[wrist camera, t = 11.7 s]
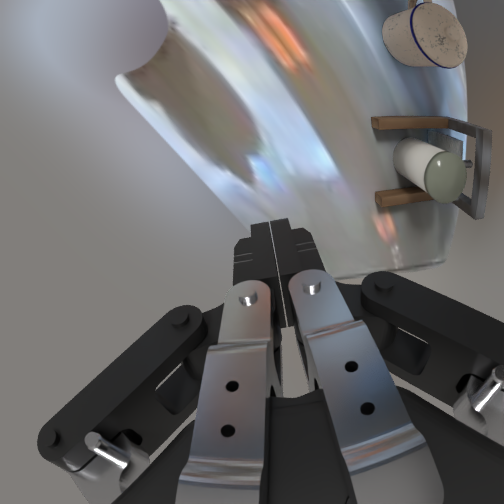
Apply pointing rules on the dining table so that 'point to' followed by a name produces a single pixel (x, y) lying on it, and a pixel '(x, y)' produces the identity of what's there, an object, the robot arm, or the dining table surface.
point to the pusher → (448, 145)
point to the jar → (431, 169)
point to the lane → (405, 124)
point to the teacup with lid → (425, 36)
